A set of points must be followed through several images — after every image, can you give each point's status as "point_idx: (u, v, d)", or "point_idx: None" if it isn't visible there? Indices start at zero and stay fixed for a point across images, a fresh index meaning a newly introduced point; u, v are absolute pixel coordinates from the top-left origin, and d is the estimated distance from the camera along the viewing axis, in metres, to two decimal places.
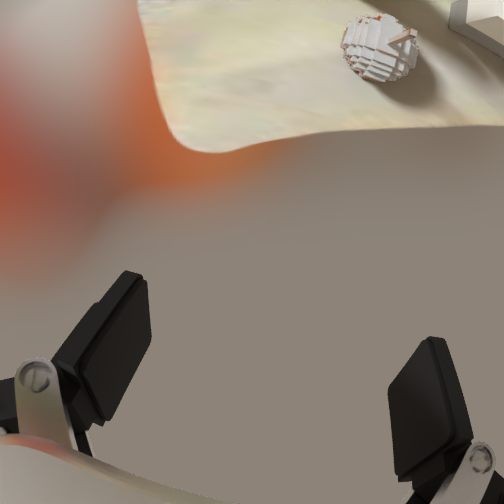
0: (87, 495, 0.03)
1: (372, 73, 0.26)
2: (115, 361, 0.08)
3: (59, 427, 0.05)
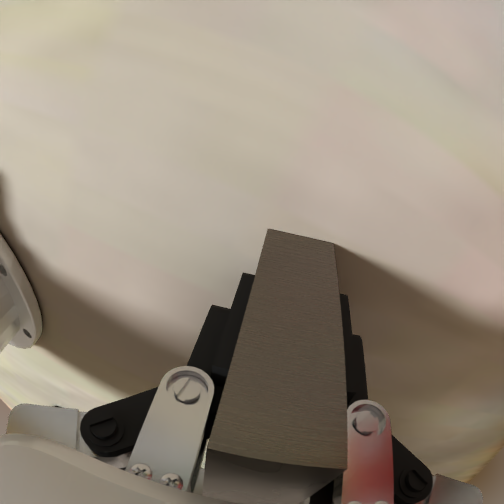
0: (87, 496, 0.03)
1: None
2: None
3: (188, 447, 0.05)
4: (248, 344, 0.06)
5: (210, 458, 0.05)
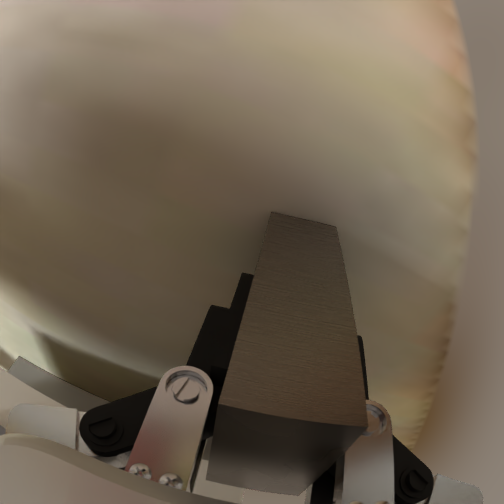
0: (87, 495, 0.03)
1: None
2: None
3: (187, 447, 0.05)
4: (257, 307, 0.06)
5: (220, 420, 0.04)
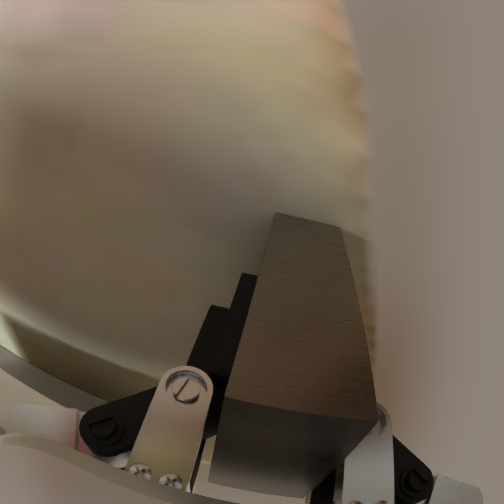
0: (87, 496, 0.03)
1: None
2: None
3: (187, 447, 0.05)
4: (263, 301, 0.06)
5: (226, 414, 0.04)
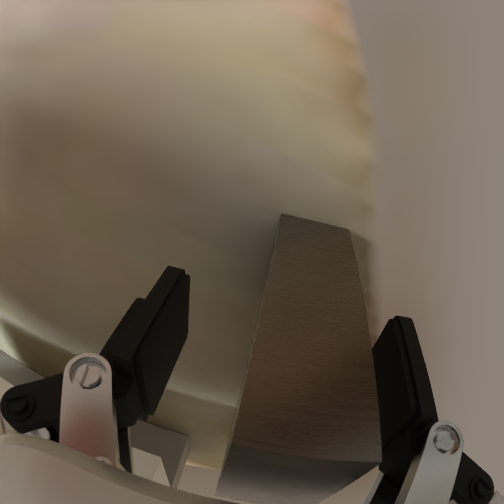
0: (87, 495, 0.03)
1: None
2: (162, 354, 0.08)
3: (104, 428, 0.05)
4: (270, 330, 0.06)
5: (232, 456, 0.04)
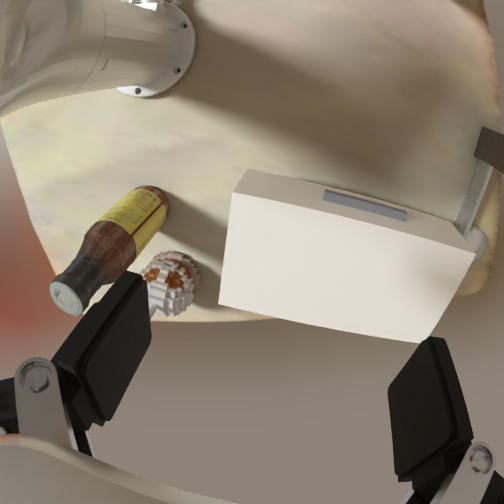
0: (87, 496, 0.03)
1: None
2: (115, 361, 0.08)
3: (59, 427, 0.05)
4: None
5: None
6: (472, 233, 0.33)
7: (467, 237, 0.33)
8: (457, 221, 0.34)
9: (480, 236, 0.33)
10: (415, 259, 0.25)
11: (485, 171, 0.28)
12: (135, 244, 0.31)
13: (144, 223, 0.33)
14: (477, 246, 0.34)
